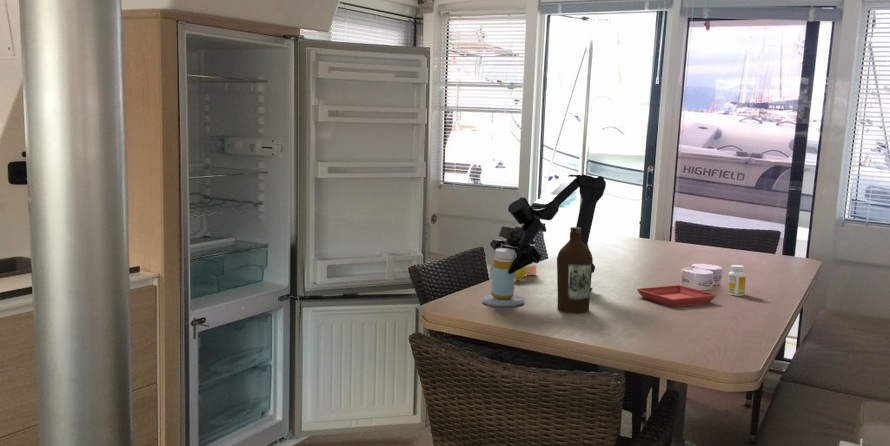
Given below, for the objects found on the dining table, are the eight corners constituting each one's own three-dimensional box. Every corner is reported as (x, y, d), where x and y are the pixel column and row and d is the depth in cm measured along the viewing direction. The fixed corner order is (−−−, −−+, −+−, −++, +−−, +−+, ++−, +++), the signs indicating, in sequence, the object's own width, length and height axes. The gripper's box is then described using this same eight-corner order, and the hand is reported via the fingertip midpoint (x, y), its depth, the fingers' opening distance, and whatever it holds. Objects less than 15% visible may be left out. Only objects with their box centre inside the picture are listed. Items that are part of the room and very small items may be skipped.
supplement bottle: (744, 293, 255) (745, 265, 254) (744, 296, 250) (746, 267, 249) (727, 292, 257) (728, 264, 256) (727, 295, 252) (729, 266, 251)
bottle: (487, 294, 240) (490, 248, 237) (506, 293, 242) (509, 247, 240) (497, 300, 233) (500, 253, 231) (517, 298, 236) (520, 252, 234)
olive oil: (550, 306, 232) (552, 225, 229) (582, 305, 235) (585, 225, 232) (563, 314, 222) (565, 230, 219) (596, 313, 224) (599, 229, 221)
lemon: (525, 282, 270) (525, 260, 269) (509, 281, 271) (510, 259, 270) (526, 279, 275) (527, 258, 274) (511, 279, 276) (511, 257, 276)
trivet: (532, 302, 237) (532, 298, 237) (505, 309, 228) (505, 305, 228) (501, 296, 247) (501, 292, 246) (473, 302, 238) (474, 298, 237)
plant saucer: (634, 298, 248) (635, 288, 248) (678, 294, 255) (679, 284, 255) (671, 309, 231) (672, 299, 231) (717, 305, 239) (718, 294, 238)
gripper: (494, 214, 244) (467, 251, 239) (535, 219, 229) (507, 259, 224) (512, 236, 250) (486, 273, 244) (552, 243, 235) (526, 282, 230)
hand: (500, 271), depth 236 cm, fingers closed on bottle, 7 cm apart
